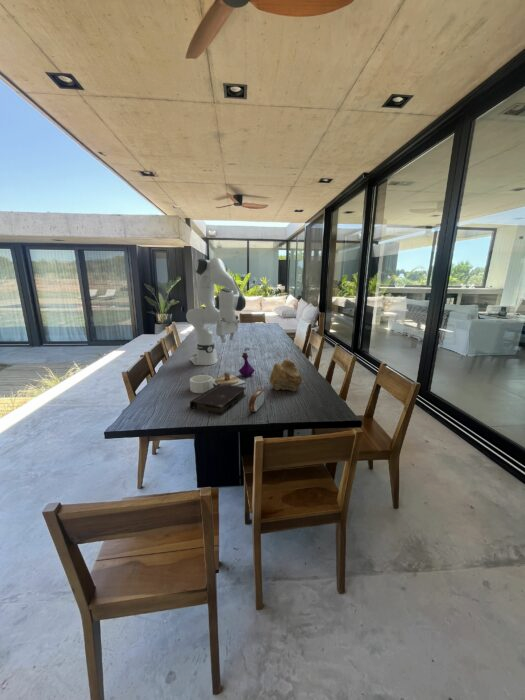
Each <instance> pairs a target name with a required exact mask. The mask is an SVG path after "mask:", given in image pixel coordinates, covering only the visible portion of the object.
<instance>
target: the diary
mask: <svg viewBox="0 0 525 700" xmlns="http://www.w3.org/2000/svg"><path fill="white" fill-rule="evenodd" d="M246 389H247V387H244V386H240V385H236V386H234V385H225V384H217V385H213V388H211V389H210V390H208V391H206V392H204V393H200V395H198V396H197V397H194V398H193V399H191V400H190V401H189V407H190V409H193V408H194V409H197V410H201V411H206V412H207V413H210V414H213V415H219V416H220V415H224V414H225V413H227V412H228V411H229V410H231V409H232V408H233V407H234V406H235V405H236V404H238V403H239V402H240V400H242V399H245V397H246V396H247V395H246V394H245V390H246Z"/></svg>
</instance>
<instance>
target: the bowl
mask: <svg viewBox="0 0 525 700" xmlns="http://www.w3.org/2000/svg"><path fill="white" fill-rule="evenodd" d="M213 379H214V377H212V376H211V375H208V374H198V375H194V376H191V377H190V378H189V389H190V392H192V393H194V394H195V393H196V394H203V393H204V392H206V391H208V390H210V389H211V388H213V387H214V384H213Z"/></svg>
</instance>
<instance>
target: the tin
mask: <svg viewBox="0 0 525 700" xmlns="http://www.w3.org/2000/svg"><path fill="white" fill-rule="evenodd" d="M265 398H266V391H265V389H262V388H258V389H257V390H256V391H254V392H253V393H252V395H251V396H250V399H249V401H248V411H250V412H257V411H259V409H260V408H261V407H262V406H263V404H264V402H265Z"/></svg>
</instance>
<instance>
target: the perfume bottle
mask: <svg viewBox="0 0 525 700" xmlns="http://www.w3.org/2000/svg"><path fill="white" fill-rule="evenodd" d="M243 351H244V352H242V355H241V358H243V360H244V363H243V366H241V368H240V369H239V370H238V373H239V374H240V375H241V376H243V377H246V378H248V377H250V376H252V375H253V374H254V372H255V368H253V366H252V365H251V364H250V362H249V361H248V358H249V355H248V353H247V351H250V348H249V347H244V349H243Z"/></svg>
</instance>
